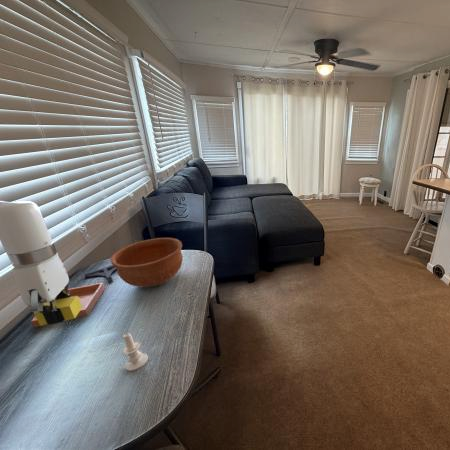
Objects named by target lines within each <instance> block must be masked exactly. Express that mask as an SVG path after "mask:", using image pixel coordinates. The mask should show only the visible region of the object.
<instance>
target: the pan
mask: <svg viewBox="0 0 450 450" xmlns="http://www.w3.org/2000/svg"><path fill="white" fill-rule="evenodd" d="M105 289H106V287H105V283H104V282H99V283H94V284H87V285H83V286H78V287H77V286H76V287H72V288H68V290H69V292H70V294H69V295H70V297H73V296H78V298H79V301H80V303H81V306H82V309H81V310H80V312H79V313H78V315H77V316H76V317H75V318H74V319H78V318H83V317H87V316H89V315H90V313H91V311H92V309H93V308H94V306H95V305H96V303H97V301H98V300H99V298H100V297H101V296H102V293H103V292H104V290H105ZM69 295H68V296H69ZM55 298H57V297H55ZM30 323H31V324H32V326H33V328H39V327H43V326H44V325H41V326H40V324H39V322H38V320H37V318H36V317H35V316H34V317H33V318H32V319H31V320H30ZM45 326H48V324H46V325H45Z"/></svg>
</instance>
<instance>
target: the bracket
mask: <svg viewBox="0 0 450 450" xmlns="http://www.w3.org/2000/svg"><path fill="white" fill-rule="evenodd" d="M110 269H111V270H110ZM115 270H116V271H117V269H116V267H115V266H114V265H112V264H111V265H110V266H105V267H103V268H100V269H99V268H98V269H97V270H94V271H89V272H87V273H84V274H83V276H84V278H90V277H98V276H99V277H100V276H101V277H104V278H106V279H107V282H108V283H109V284H110V283H113V282H114V281H113V278H112V276H111V275H112V273H114V272H115ZM101 272H102V273H101Z"/></svg>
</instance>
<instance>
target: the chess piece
mask: <svg viewBox="0 0 450 450" xmlns="http://www.w3.org/2000/svg"><path fill="white" fill-rule="evenodd" d="M122 337H123V340H124V342H125V346H124V348H123V349H122V354H123V355H128V356H127V358H126V360H127V361H126V362H125V364H124V368H125V371H127V372H135V371H137V370H139V369H141V368H143V366H145V365H146V364H147V362H148V359H149V357H148V354H147V353H145V352H141V351H140V350H139V349H140V347H141V342H139V341H134V339H133V336H132V335H131V333H129V332H126V333H124V335H123V336H122Z"/></svg>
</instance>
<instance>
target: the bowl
mask: <svg viewBox="0 0 450 450" xmlns="http://www.w3.org/2000/svg"><path fill="white" fill-rule="evenodd" d="M182 248H183V243H182V240H179V239H178V238H173V237H156V238H150V239H145V240H141V241H138V242H134V243H132V244H129V245H127V246H125V247H123V248H121V249H119V250H117V251H116V252H115V253H113V255H112V256H111V257H110V259H109V262H110V263H111V266H112V265H114V266H115V267H116V273H117V276H118V277H119V278H120V279H121V281H123V282H125V283H126V284H128V285H130V286H132V287H133V286H134V287H137V288H149V287H159V286H161V285H163V284H165V283H166V282H167V281H169V280H170V279H172V277H174V276H175V275H176V274H178V272H179V270H181V267H182V264H183V263H182V262H183V253H182Z"/></svg>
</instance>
